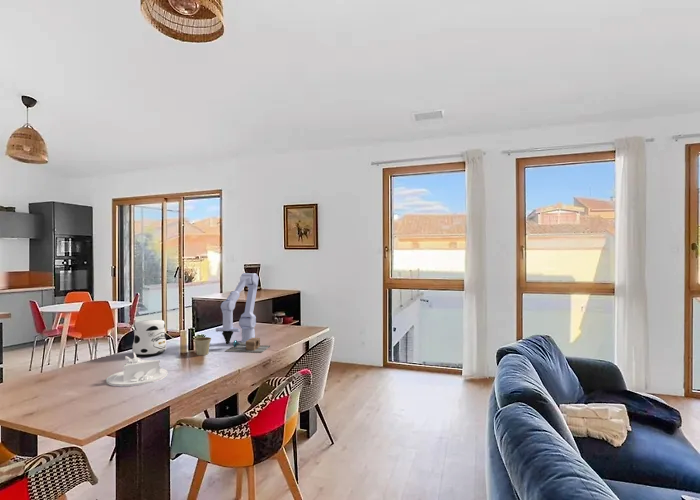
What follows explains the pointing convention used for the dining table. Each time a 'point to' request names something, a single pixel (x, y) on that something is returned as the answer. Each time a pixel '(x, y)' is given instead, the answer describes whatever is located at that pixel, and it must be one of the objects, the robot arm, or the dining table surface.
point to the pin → (239, 343)
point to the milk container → (149, 337)
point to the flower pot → (202, 345)
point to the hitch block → (249, 347)
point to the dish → (137, 373)
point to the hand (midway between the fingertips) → (227, 343)
